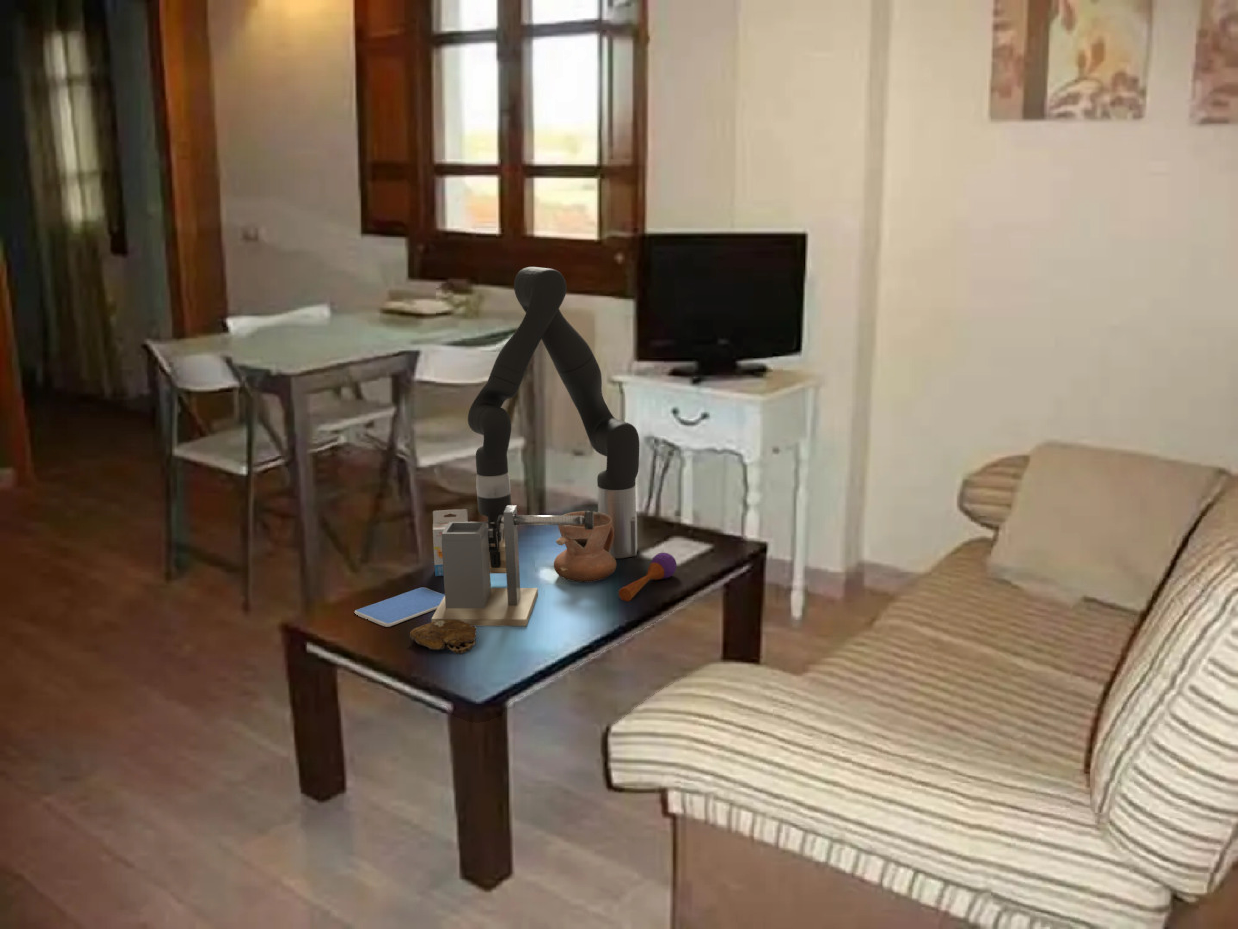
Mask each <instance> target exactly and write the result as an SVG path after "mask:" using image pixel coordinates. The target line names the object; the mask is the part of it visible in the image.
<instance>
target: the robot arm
mask: <svg viewBox="0 0 1238 929" xmlns="http://www.w3.org/2000/svg"><path fill="white" fill-rule="evenodd" d="M567 289H568V288H567V282H566V279H565V277H564V275H563V274H562V273H561V272H560V271H558V270H556V269H553V268H549V267H547V268H546V267H539V266H528V267H524V268H522V269H520V270H519V271H518V273H517V274H516V275H515V278H514V282H513V291H514V294H515V297H516V299H517V301H518V303H519V305H520V306H521V307H522V309H523V311H524V312H525V314H524V317H523V319H522V320H521V323H520V324H519V326H518V327H517V329H516V331H514V333H513V335H512V336H511V337H510V338H509V339H508V340H507V341H506V343H505V344H504V345H503V347H502V348H501V350H500V351H499V353H498V355H497V357H496V359H495V361H494V364H493V366H492V369H491V372H490V374H489V376H488V380H487V382H486V383H485V385H484V386H483V387H482V388H481V390H480V391H479V393H478V394H477V396H476V397H475V399H474V400H473V402H472V404H471V405H470V407H469V410H468V413H467V414H468V415H467V423H468V427H469V428H470V430H471V431H473V432H474V433H476V434H478V435H482V436H483V443H482V445H481V446H480V447H479V448H477V449H476V451H475V465H476V466H475V468H476V469H475V470H476V481H475V483H476V484H475V486H476V498H477V499H476V500H477V511H478V513H479V515H481V516H485V517H487V521H486V522H487V528H488V541H489V552H490V562H491V567H492V568H500V566H501V559H500V551H501V549H500V542H502V540H503V538H505V534H504V524H503V523H502V522H501V518H502V517H503V516H504V513H503V512H504V511H505V509H506V507H507V505H512V494H511V482H510V481H511V479H510V475H509V464H508V462H509V460H508V451H509V450H508V449H509V446H510V439H511V434H512V421H511V417H510V415H509V412H508V411H507V410H506V409H504V408H503V407H502V406H503V404H504V403H505V401H507V400H510V399H513V398H515V397H516V395H517V394H518V392H519V390H520V387H521V384H522V382H523V379H524V377H525V374H526V371H527V370H528V367H529V364H530V362H531V360H532V358H533V356H534V353H535V351H536V349H537V347H538V345H539V343H540V342H541V341H542V344H543V345H544V348H545V350H546V351H547V353H548V355H549V357H550V359H551V361H552V363H553V365H554V367H555V369H556V372H557V373H558V374H557V375H559V378H560V380H561V381H562V383H563V385H564V387H565V389H566V390H567V393H568V394H569V396H570V398H571V401H572V403H573V404H574V407H575V408H576V410H577V412H578V414H579V416H580V419H581V422H582V425H583V427H584V430H585V432H586V435H587V437H588V440H589V443H590V444H591V447H592V448H593V449H594V450H595V452H596V453H598V454H600V455H601V456H604V457H606V470H603V471H600V472H599V473H598V475H597V477H596V478H597V480H596V482H597V483H596V484H597V486H596V487H597V512H601V513H604V514H606V515H609V516H610V517H611V519H612V523H611V526H612V527H613V530H614V536H613V541H612V545H611V548H610V551H609V553H610V554H611V555H612V556H613V557H614V558H615V559H624V558H629V557H636V556H637V552H638V513H637V496H636V494H637V492H636V490H637V489H636V485H637V483H636V480H637V477H638V473H639V468H640V436H639V433H638V430H637V428H636V427H635V426H634V425H633V424H632V423H630V422H626V421H623V420H619V419H617V418H615V416H614V415H613V413H611V411H610V409H609V407H608V405H607V403H606V401H605V399H604V396H603V392H602V391H603V390H602V387H603V386H602V385H603V383H602V382H603V380H602V379H603V378H602V372H601V371H602V370H601V368H600V366H599V363H598V361H597V359H596V357H595V355H594V353H593V351H592V349H591V347H590V346H589V344H588V342H587V341H586V340H585V339H584V338H583V337H582V335H581V334H580V333H579V332H578V331H577V330H576V329H575V328H574V327H573V326H572V325H571V323H569V321H567V319H566V318H565V316H564V315H563V314H562V312H561V310H560V307H561V305H562V304H563V302H564V299H565V297H566V294H567ZM492 544H495V547H492Z"/></svg>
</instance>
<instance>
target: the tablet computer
mask: <svg viewBox="0 0 1238 929" xmlns="http://www.w3.org/2000/svg"><path fill="white" fill-rule="evenodd" d="M444 596H445V593H442V592H441V593H440V592H438V591H435V590H434V589H433V590H432V589H430V588H428V587H424V586H423V587H419V588H415V589H412V590H409V591H407V592H403V593H401V594H398V595H396V596H395V595H394V596H393V597H390V598H389V597H388V598H386V599H384V600H381V601H378V602H376V603H373V604H369V605H366V606H363V607H361V608H358V609H355V610H354V613H355V614H356V615H355V614H354V615H355V616H357V615H358V617H360V618H362V619H365V620H367V619H368V620H367V621H370V622H372V623H375V624H377V625H379V626H383V627H386V628H390V627H393V626H395V625H398V624H400V623H403V622H405V621H408V620H411V619H414V618H418V617H419V616H421V615H425V614H428V613H430V612H433V611H436V610H437V608H438V606H439V605H440V603H441V601H442V599H443V598H444Z"/></svg>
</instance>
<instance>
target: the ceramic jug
mask: <svg viewBox="0 0 1238 929" xmlns="http://www.w3.org/2000/svg"><path fill="white" fill-rule="evenodd" d="M585 511H586V510H582V511H581V510H580V511H572V512H568V513H565V514H563V515H581V516H584V517H585ZM593 513H594V527H593V530H585V524H583V525H557V526H558V531H559V533H560V536H561V537H558V538H557V539H556V541H555V542H556V544H557V545H558V546H563V545H565V547H566V549H564V550H563V551H561V552H559V553H558V555H556V557H555V559H554V561H553V568H554V571H555V572H556V574H557V575H558V576H560V577H561V578H562V579H563V580H564V579H565V580H568V581H571V582H574V583H575V582H577V583H593V582H598V581H602V580H604V579H606V578H608V577H610V576H611V575H612V574H614V572H615V571H616V570H617V569H616V568H617V565H618V564H617V560H616V558H614V557H613V556H612V555H611V554H610V553H609V551H610V548H611V545H612V541H613V536H614V530H613V527H612V526H611V523H612V519H611V517H610V516H609V515H606V514H604V513H601V512H598V511H593Z"/></svg>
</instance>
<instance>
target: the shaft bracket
mask: <svg viewBox="0 0 1238 929" xmlns="http://www.w3.org/2000/svg"><path fill="white" fill-rule="evenodd" d="M517 507H518V506H517V504H516V505H515V504H514V505H513V504H511V505H507V507H506V509H505V511H504V512H503V513H504V534H505V554H506V573H505V574H506V588H507V595H508V606H517V605H518V603H519V600H520V598H521V593H520V588H521V576H520V574H521V573H520V558H519V557H520V553H519V551H520V550H519V531H518V529H519V528H518V525H514V515H518V511H517V510H518V508H517Z"/></svg>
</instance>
